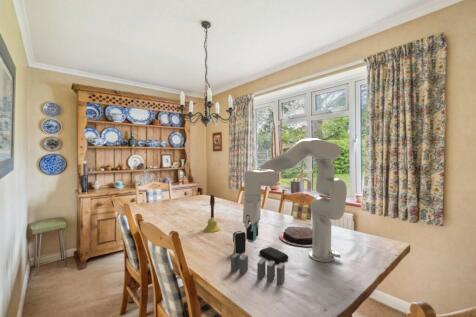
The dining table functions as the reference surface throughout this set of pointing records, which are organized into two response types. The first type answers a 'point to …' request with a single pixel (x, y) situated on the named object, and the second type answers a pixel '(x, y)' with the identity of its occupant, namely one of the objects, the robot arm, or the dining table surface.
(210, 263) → the dining table surface
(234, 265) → the domino
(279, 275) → the domino
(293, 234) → the chocolate cake
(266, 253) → the carrying case or bag
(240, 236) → the battery charger
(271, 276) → the domino
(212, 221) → the handbell
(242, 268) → the domino
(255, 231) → the domino
